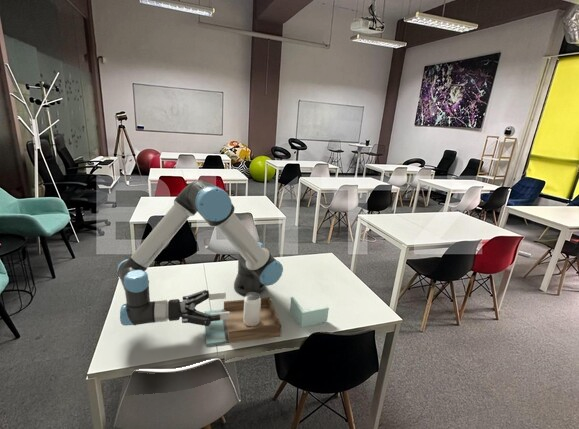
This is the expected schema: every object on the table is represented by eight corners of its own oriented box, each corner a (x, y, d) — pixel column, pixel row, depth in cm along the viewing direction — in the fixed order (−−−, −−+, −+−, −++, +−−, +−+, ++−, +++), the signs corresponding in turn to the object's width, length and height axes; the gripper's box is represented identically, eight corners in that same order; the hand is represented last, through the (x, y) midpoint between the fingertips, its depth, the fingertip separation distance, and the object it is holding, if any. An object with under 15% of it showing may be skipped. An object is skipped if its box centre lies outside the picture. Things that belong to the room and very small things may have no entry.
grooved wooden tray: (204, 313, 134) (204, 303, 133) (269, 306, 142) (270, 297, 141) (206, 345, 116) (206, 334, 115) (280, 336, 124) (281, 325, 123)
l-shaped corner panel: (326, 323, 135) (328, 307, 133) (301, 328, 130) (302, 312, 128) (313, 307, 146) (315, 292, 143) (289, 311, 141) (290, 297, 139)
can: (244, 316, 131) (245, 290, 128) (260, 317, 131) (262, 292, 128) (242, 326, 125) (243, 299, 121) (258, 327, 125) (259, 301, 121)
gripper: (170, 300, 129) (224, 295, 135) (166, 342, 106) (230, 333, 113) (169, 284, 127) (224, 279, 133) (165, 322, 104) (231, 315, 110)
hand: (227, 304), depth 123 cm, fingers open, 13 cm apart
